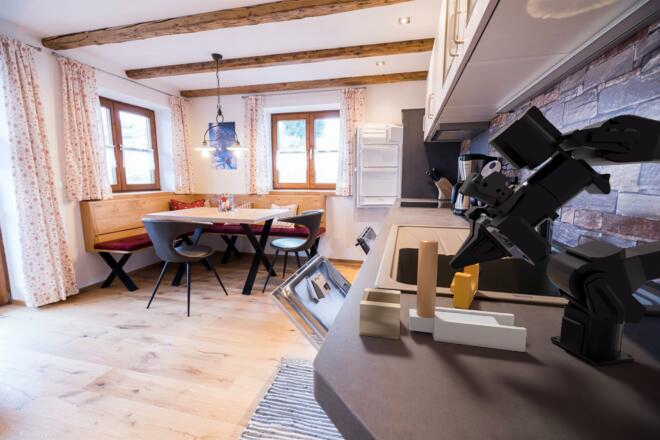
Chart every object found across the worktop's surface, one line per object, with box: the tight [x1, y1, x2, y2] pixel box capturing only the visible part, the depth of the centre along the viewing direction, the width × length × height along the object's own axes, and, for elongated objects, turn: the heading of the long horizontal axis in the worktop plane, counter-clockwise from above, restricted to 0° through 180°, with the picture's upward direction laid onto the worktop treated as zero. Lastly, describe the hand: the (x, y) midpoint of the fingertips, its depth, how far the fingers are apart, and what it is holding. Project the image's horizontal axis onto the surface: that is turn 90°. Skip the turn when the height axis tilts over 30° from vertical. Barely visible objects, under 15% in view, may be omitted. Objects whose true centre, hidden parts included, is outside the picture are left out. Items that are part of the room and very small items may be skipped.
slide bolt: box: [408, 239, 499, 334], centre depth 44 cm, size 12×3×14 cm, turn 76°
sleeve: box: [431, 306, 528, 353], centre depth 44 cm, size 12×5×3 cm, turn 76°
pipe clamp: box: [449, 263, 480, 310], centre depth 60 cm, size 12×4×6 cm, turn 145°
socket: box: [358, 287, 401, 341], centre depth 47 cm, size 6×7×5 cm
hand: (451, 266), depth 44 cm, fingers closed
